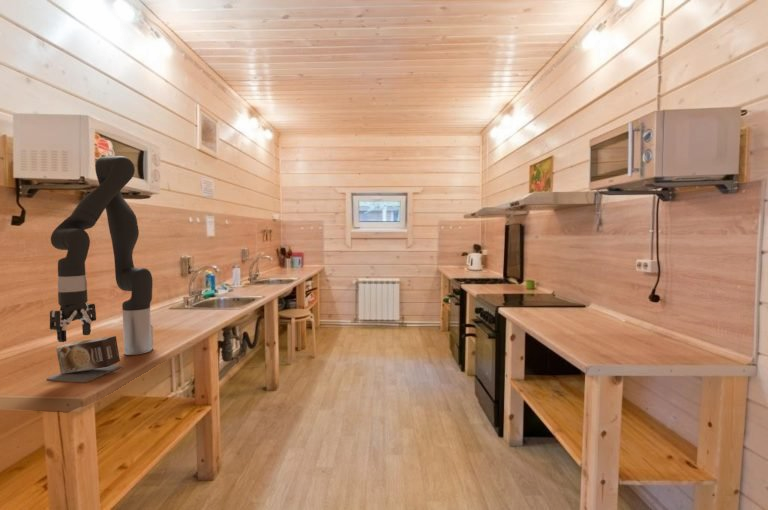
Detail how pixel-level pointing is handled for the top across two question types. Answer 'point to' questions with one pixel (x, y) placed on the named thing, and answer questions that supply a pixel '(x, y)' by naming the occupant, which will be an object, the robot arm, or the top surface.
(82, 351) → the coffee box
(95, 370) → the mat
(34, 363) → the top surface
